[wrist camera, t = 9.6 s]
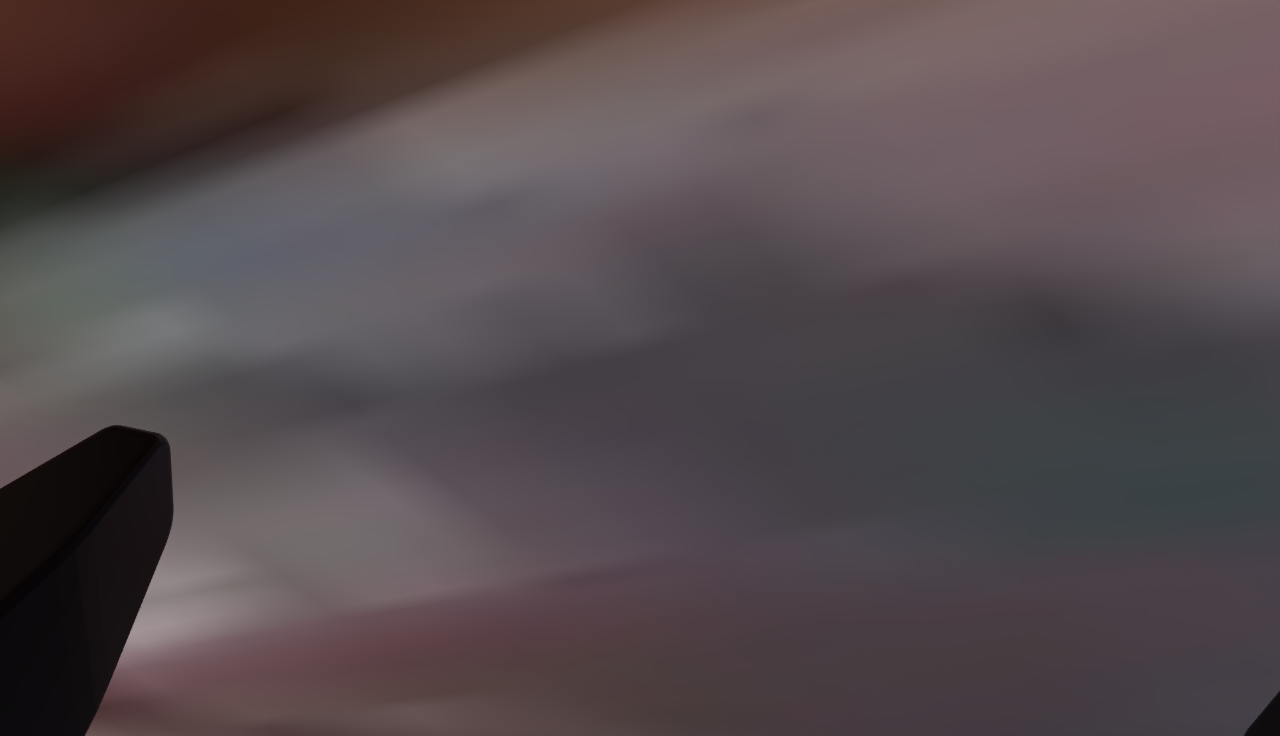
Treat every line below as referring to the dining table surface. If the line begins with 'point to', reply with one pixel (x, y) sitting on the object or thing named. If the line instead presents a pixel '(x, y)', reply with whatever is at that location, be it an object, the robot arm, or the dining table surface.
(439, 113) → the dining table surface
